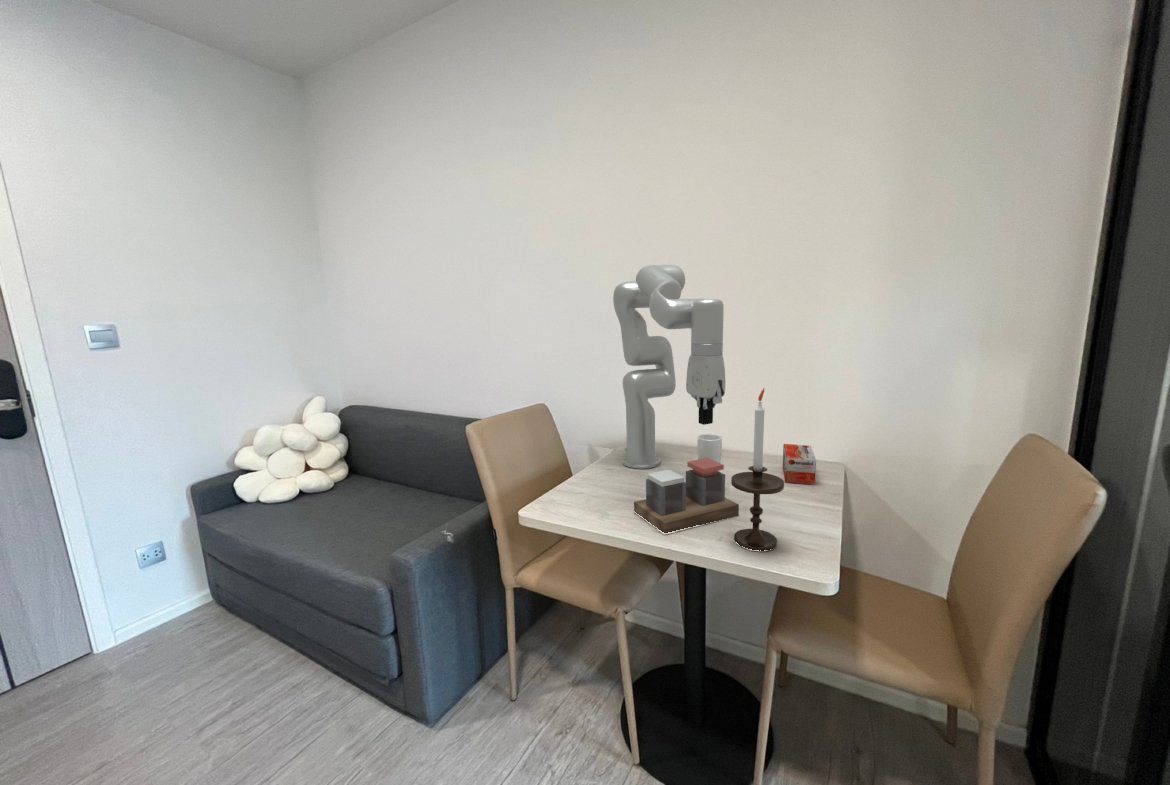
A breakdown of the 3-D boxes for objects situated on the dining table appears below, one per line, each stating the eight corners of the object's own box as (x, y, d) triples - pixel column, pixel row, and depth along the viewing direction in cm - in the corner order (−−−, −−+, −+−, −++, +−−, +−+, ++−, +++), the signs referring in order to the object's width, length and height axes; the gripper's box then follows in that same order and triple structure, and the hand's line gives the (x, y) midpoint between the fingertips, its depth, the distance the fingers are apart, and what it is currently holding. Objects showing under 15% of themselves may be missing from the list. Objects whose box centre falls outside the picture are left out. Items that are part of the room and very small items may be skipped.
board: (634, 512, 125) (633, 475, 123) (703, 496, 134) (703, 461, 132) (664, 535, 112) (664, 494, 111) (738, 515, 121) (739, 477, 120)
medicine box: (815, 486, 139) (816, 459, 138) (784, 483, 142) (786, 457, 140) (809, 469, 153) (810, 444, 152) (781, 467, 156) (782, 443, 154)
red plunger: (687, 491, 126) (687, 461, 125) (706, 487, 129) (707, 457, 128) (702, 500, 121) (703, 469, 119) (723, 495, 123) (723, 464, 122)
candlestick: (788, 539, 109) (796, 385, 102) (770, 559, 101) (776, 393, 94) (742, 526, 116) (746, 381, 109) (721, 543, 108) (724, 388, 102)
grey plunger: (647, 505, 122) (647, 473, 120) (669, 500, 124) (669, 469, 123) (662, 514, 116) (661, 482, 115) (684, 509, 119) (684, 477, 117)
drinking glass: (718, 492, 136) (719, 441, 134) (694, 489, 139) (695, 439, 137) (722, 484, 142) (723, 434, 140) (699, 481, 145) (700, 432, 143)
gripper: (676, 349, 124) (675, 419, 127) (714, 354, 110) (713, 432, 113) (700, 347, 127) (699, 415, 130) (740, 351, 113) (738, 428, 117)
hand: (705, 423), depth 122 cm, fingers closed
